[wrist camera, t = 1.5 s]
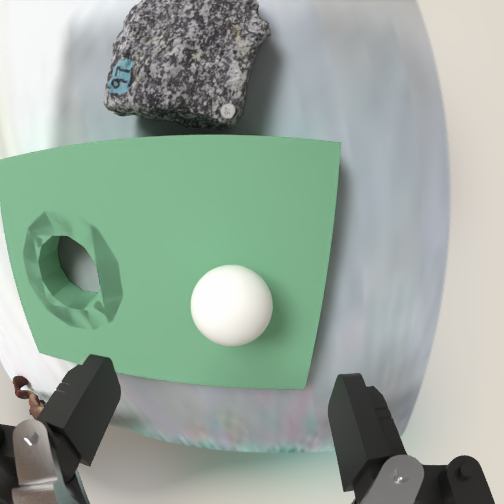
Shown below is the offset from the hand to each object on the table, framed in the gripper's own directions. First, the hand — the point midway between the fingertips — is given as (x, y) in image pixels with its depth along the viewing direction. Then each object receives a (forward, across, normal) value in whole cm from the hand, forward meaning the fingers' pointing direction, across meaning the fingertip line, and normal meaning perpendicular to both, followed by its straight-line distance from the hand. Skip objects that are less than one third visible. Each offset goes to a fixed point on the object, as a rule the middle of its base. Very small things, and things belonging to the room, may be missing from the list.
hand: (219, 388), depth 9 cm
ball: (+5, 0, 0) cm, 5 cm away
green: (+10, +6, 0) cm, 11 cm away
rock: (+10, +3, -14) cm, 17 cm away
